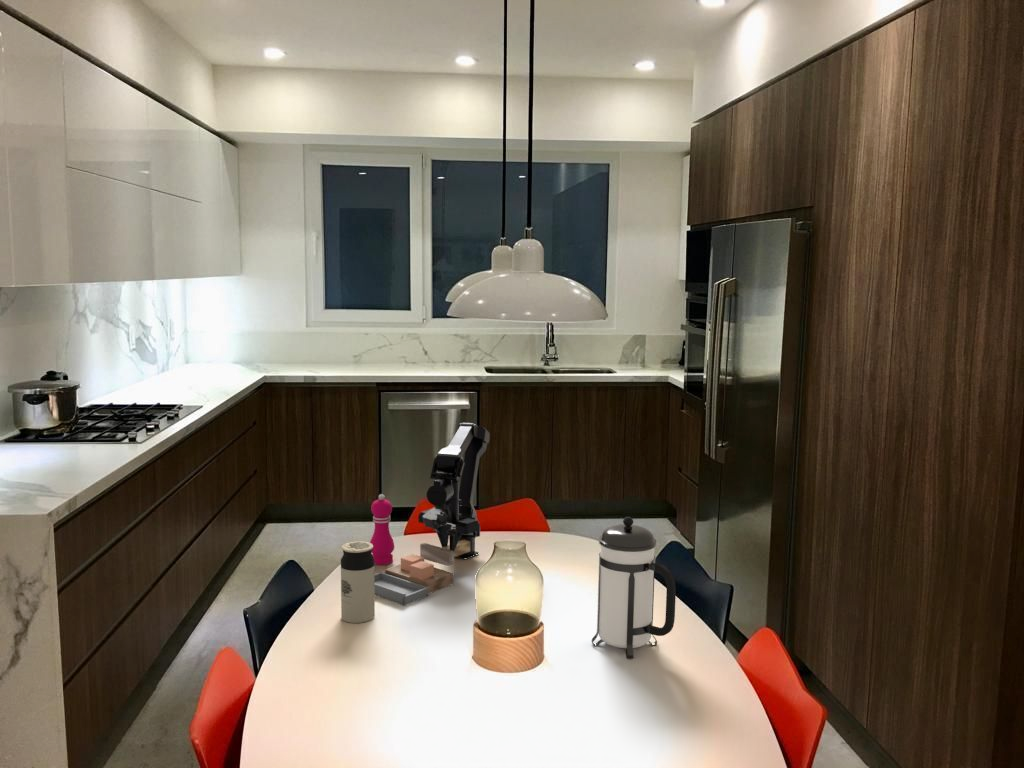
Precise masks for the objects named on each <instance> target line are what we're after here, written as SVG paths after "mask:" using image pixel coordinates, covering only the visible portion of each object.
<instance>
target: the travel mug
mask: <svg viewBox="0 0 1024 768" xmlns="http://www.w3.org/2000/svg"><path fill="white" fill-rule="evenodd" d="M372 548H373V545H372V544H371V543H370V541H350V542H347V543H344V544H343V545H341V549H342V553H343V554H342V556H341V558H340V597H341V598H340V601H341V602H340V603H341V604H340V605H341V606H340V607H341V609H340V612H341V614H340V615H341V617H340V618H341V619H342V620H343V621H345V622H347V623H351V624H361V623H362V624H363V623H366V621H367V622H368V621H371V620H373V619H374V617H376V616H375V614H376V613H375V612H376V611H375V606H376V605H375V597H376V596H375V586H374V574H375V564H374V557H373V555H372V553H371V552H372Z"/></svg>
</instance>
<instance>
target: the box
mask: <svg viewBox="0 0 1024 768" xmlns="http://www.w3.org/2000/svg"><path fill="white" fill-rule="evenodd" d="M374 586H375V595H376V596H375V597H378V596H379V598H381V599H383V600H384V599H385V600H386V599H387V600H386V601H390V602H393V603H395V604H398V605H401V606H403V607H405V606H406V605H409V604H412V603H414V602H417V601H420V600H421V599H423V598H426V597H428V596H429V597H430V593H429V587H426V586H423V585H419V584H416V583H413V582H410V581H407V580H404V579H401V578H398V577H395V576H392V575H389V574H386V573H385V572H382V571H380V572H377V573H374Z"/></svg>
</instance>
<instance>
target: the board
mask: <svg viewBox="0 0 1024 768" xmlns="http://www.w3.org/2000/svg"><path fill="white" fill-rule="evenodd" d="M384 573H386V574H389V575H392V576H395V577H398V578H401V579H404V580H407V581H410V582H413V583H416V584H419V585H423V586H426V587H429V594H431V592H432V593H434V592H436V590H437V591H438V590H439V591H440V590H441V588H442V589H444V588H447V587H449V586H451V584H452V585H454V572H450V571H447V570H444V569H440V568H437V567H434V576H431V577H428V578H426V579H423V580H420V579H417V578H414V577H411V576H410V571H406V570H403V569H401V563H400V564H397V565H395V566H391V567H388V568H385V569H384ZM446 586H447V587H446Z"/></svg>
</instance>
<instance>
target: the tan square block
mask: <svg viewBox="0 0 1024 768" xmlns="http://www.w3.org/2000/svg"><path fill="white" fill-rule="evenodd" d="M420 561H423V562H425V559H424V557H421V556H420V555H417V554H413V553H411V554H409V555H405V556H403V557H400V564H401V569H403V570H406V571H410V565H412V564H415V563H418V562H420Z"/></svg>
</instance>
